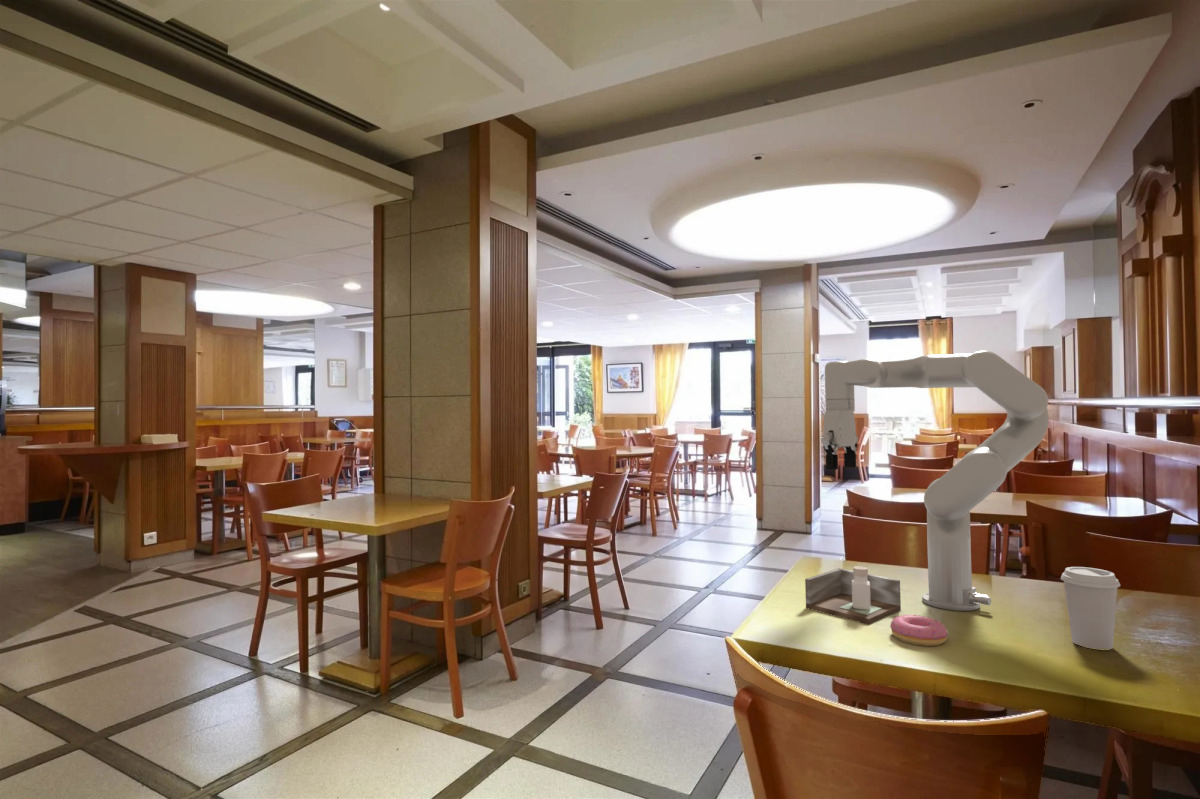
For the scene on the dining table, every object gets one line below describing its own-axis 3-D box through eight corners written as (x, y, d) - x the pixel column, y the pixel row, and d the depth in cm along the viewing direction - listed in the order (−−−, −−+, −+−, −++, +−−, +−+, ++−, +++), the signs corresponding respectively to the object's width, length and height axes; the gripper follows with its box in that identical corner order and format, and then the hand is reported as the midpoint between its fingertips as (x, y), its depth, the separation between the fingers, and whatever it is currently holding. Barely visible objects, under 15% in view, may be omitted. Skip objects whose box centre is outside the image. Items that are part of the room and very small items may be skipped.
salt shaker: (870, 610, 144) (869, 570, 144) (852, 609, 145) (851, 569, 146) (870, 606, 147) (869, 566, 148) (852, 604, 149) (851, 565, 149)
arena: (900, 609, 149) (899, 580, 149) (868, 624, 139) (867, 592, 139) (839, 595, 161) (838, 568, 161) (805, 608, 151) (805, 578, 151)
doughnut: (954, 638, 130) (954, 619, 130) (939, 653, 122) (938, 632, 122) (900, 626, 137) (900, 608, 137) (882, 639, 130) (882, 620, 130)
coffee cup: (1127, 657, 118) (1124, 579, 119) (1065, 648, 123) (1063, 573, 124) (1117, 641, 126) (1115, 569, 127) (1060, 633, 131) (1058, 563, 132)
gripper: (843, 406, 176) (844, 465, 176) (810, 406, 165) (811, 469, 164) (868, 406, 170) (869, 467, 170) (836, 405, 159) (838, 471, 159)
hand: (841, 468), depth 167 cm, fingers open, 9 cm apart
